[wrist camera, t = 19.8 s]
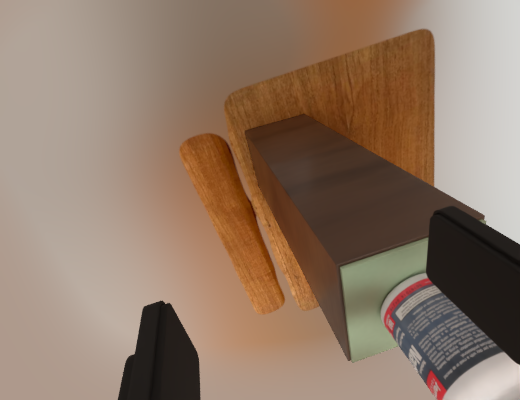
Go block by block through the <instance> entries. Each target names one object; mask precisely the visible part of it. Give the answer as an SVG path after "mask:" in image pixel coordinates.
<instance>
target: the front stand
mask: <svg viewBox="0 0 520 400" xmlns="http://www.w3.org/2000/svg"><path fill="white" fill-rule="evenodd" d="M245 135H246V139H247V143H248V147H249V150H250V154H251V158H252V162H253V166H254V170H255V174H256V178H257V182H258V186H259V188H260V190H261V192H262V194H263V196H264V197H265V199H266V201H267V203H268V205H269V207H270V209H271V211H272V213H273V215H274V217H275V219H276V221H277V223H278V225H279V227H280V229H281V231H282V233H283V235H284V237H285V239H286V240H287V242H288V244H289V246H290V248H291V250H292V252H293V254H294V256H295V258H296V260H297V262H298V264H299V266H300V268H301V270H302V272H303V274H304V276H305V278H306V280H307V282H308V283H309V285H310V287H311V289H312V291H313V293H314V295H315V297H316V299H317V301H318V303H319V305H320V307H321V309H322V311H323V313H324V315H325V317H326V319H327V321H328V323H329V324H330V326H331V328H332V330H333V332H334V334H335V336H336V338H337V340H338V342H339V344H340V346H341V348H342V350H343V352H344V353H345V356H346V357H347V359H348V361H350V360H351V361H352V363H354V362H356V361H359V360H362V359H365V358H367V357H370V356H373V355H375V354H378V353H381V352H384V351H387V350H389V349H392V348H395V347H397V346H399V345H398V344H397V343H396V341H395V340H394V339H393V337H392V336H391V334H390V333H389V331H388V330H387V329H386V327H385V326H384V324H383V322H382V320H381V308H382V305H383V302H384V300H385V299H386V297H387V296H388V294H389V293H390V292H391V291H392V290H393V289H394V288H395V287H396V286H397V285H399V284H400V283H402V282H403V281H405V280H406V279H408V278H410V277H413V276H415V275H418V274H422V273H426V262H427V250H428V237H429V224H430V218H431V216H433V213H434V211H436V210H439V209H442V208H445V207H448V206H455V207H457V208H459V209H460V210H462V211H464V212H466V213H467V214H469V215H471V216H472V217H474V218H476V219H477V220H479V221H481V222H482V223H484V224H486V221H485V220H484V217H485V216H484V215H483V214H481V213H479V212H478V211H476V210H474V209H472V208H470V207H469V206H467V205H465V204H463V203H461V202H460V201H458V200H456V199H454V198H453V197H451V196H449V195H447V194H445V193H444V192H442V191H440V190H438V189H437V188H435V187H433V186H431V185H430V184H428V183H426V182H424V181H422V180H421V179H419V178H417V177H415V176H414V175H412V174H410V173H408V172H406V171H405V170H403V169H401V168H399V167H398V166H396V165H394V164H392V163H390V162H389V161H387V160H385V159H383V158H382V157H380V156H378V155H376V154H374V153H373V152H371V151H369V150H367V149H365V148H364V147H362V146H360V145H358V144H357V143H355V142H353V141H351V140H349V139H348V138H346V137H344V136H342V135H341V134H339V133H337V132H335V131H333V130H332V129H330V128H328V127H326V126H325V125H323V124H321V123H319V122H317V121H316V120H314V119H312V118H310V117H309V116H307V115H305V114H302V115H299V116H295V117H292V118H288V119H285V120H281V121H278V122H274V123H271V124H267V125H264V126H260V127H257V128H254V129H250V130H247V131H245Z"/></svg>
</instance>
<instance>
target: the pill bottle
mask: <svg viewBox="0 0 520 400" xmlns="http://www.w3.org/2000/svg"><path fill="white" fill-rule="evenodd" d="M381 320H382V322H383V324H384V326H385V327H386V329H387V330H388V331H389V333H390V334H391V336H392V337H393V339H394V340H395V341H396V343H397V344H398V345H399V347H400V348H401V350H402V351H403V352H404V353H405V355H406V356H407V358H408V359H409V361H410V362H411V363H412V365H413V366H414V368H415V369H416V371H417V372H418V373H419V375H420V376H421V378H422V379H423V380H424V382H425V383H426V385H427V386H428V388H429V389H430V391H431V392H432V393H433V395H434V396H435V398H436V399H437V400H520V365H519V364H517V363H515V362H514V361H513V360H512V359H511V358H510V357H509V356H508V355H507V354H506V353H505V352H504V351H502V350H501V349H500V348H499V347H498V346H497V345H496V344H495V343H494V342H493V341H492V340H491V339H490V338H489V337H488V336H487V335H486V334H485V333H484V332H483V331H482V330H481V329H480V328H479V327H477V326H476V325H475V324H474V323H473V322H472V321H471V320H470V319H469V318H468V317H467V316H466V315H465V314H464V313H463V312H462V311H461V310H460V309H459V308H458V307H457V306H456V305H455V304H454V303H453V302H451V301H450V300H449V299H448V298H447V297H446V296H445V295H444V294H443V293H442V292H441V291H440V290H439V289H438V288H437V287H436V286H435V285H434V284H433V283H432V282H431V281H430V280H429V279H428V277H427V275H426V273H422V274H418V275H415V276H413V277H410V278H408V279H406V280H405V281H403V282H402V283H400V284H399V285H397V286H396V287H395V288H394V289H393V290H392V291H391V292H390V293H389V294H388V296H387V297H386V299H385V300H384V302H383V305H382V308H381Z"/></svg>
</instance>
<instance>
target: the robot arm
mask: <svg viewBox="0 0 520 400" xmlns="http://www.w3.org/2000/svg"><path fill="white" fill-rule="evenodd" d="M426 275H427V277H428V279H429V280H430V281H431V282H432V283H433V284H434V285H435V286H436V287H437V288H438V289H439V290H440V291H441V292H442V293H443V294H444V295H445V296H446V297H447V298H448V299H449V300H450V301H451V302H453V303H454V304H455V305H456V306H457V307H458V308H459V309H460V310H461V311H462V312H463V313H464V314H465V315H466V316H467V317H468V318H469V319H470V320H471V321H472V322H473V323H474V324H475V325H476V326H477V327H479V328H480V329H481V330H482V331H483V332H484V333H485V334H486V335H487V336H488V337H489V338H490V339H491V340H492V341H493V342H494V343H495V344H496V345H497V346H498V347H499V348H500V349H501V350H502V351H504V352H505V353H506V354H507V355H508V356H509V357H510V358H511V359H512V360H513V361H514V362H515V363H517V364H519V365H520V244H518V243H516V242H515V241H513V240H511V239H509V238H508V237H506V236H504V235H503V234H501V233H499V232H498V231H496V230H494V229H492V228H491V227H489V226H488V225H486V224H484V223H482V222H481V221H479V220H477V219H476V218H474V217H472V216H471V215H469V214H467V213H466V212H464V211H462V210H460V209H459V208H457V207H455V206H448V207H445V208H442V209H439V210H436V211H434V213H433V216H431V218H430V224H429V237H428V250H427V262H426ZM199 376H200V374H199V358H198V354H197V351H196V349H195V348H194V345H193V344H192V342H191V340H190V338H189V336H188V334H187V333H186V331H185V329H184V327H183V325H182V324H181V322H180V320H179V318H178V316H177V314H176V313H175V311H174V309H173V307H172V305H171V304H170V303H167V304H165V303H164V302H163V301H159V302H156V303H153V304H150V305H147V306H145V307H144V308H143V311H142V317H141V322H140V328H139V334H138V340H137V345H136V351H135V354H134V355H131V356H129V357H128V359H127V360H126V363H125V368H124V372H123V377H122V382H121V387H120V392H119V397H118V400H200V377H199Z"/></svg>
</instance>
